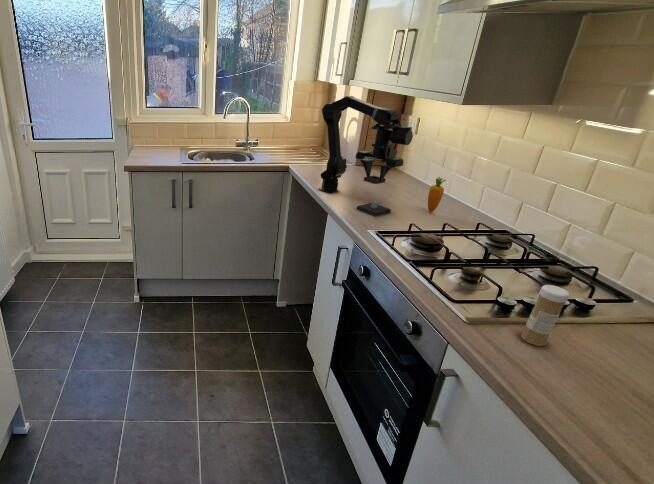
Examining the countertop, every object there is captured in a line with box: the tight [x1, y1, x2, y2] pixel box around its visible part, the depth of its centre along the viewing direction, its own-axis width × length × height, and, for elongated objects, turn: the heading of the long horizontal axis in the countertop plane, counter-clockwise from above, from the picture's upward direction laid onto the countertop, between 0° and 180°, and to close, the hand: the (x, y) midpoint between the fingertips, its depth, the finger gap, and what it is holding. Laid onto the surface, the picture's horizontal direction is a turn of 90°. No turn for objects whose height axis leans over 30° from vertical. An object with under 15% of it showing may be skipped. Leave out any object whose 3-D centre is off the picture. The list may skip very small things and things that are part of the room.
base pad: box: [356, 200, 392, 217], centre depth 169 cm, size 9×9×4 cm
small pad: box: [363, 174, 387, 185], centre depth 175 cm, size 6×6×2 cm
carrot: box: [427, 176, 447, 214], centre depth 165 cm, size 5×5×15 cm
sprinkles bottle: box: [520, 284, 570, 347], centre depth 91 cm, size 5×5×13 cm
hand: (374, 178), depth 174 cm, fingers closed on small pad, 6 cm apart
